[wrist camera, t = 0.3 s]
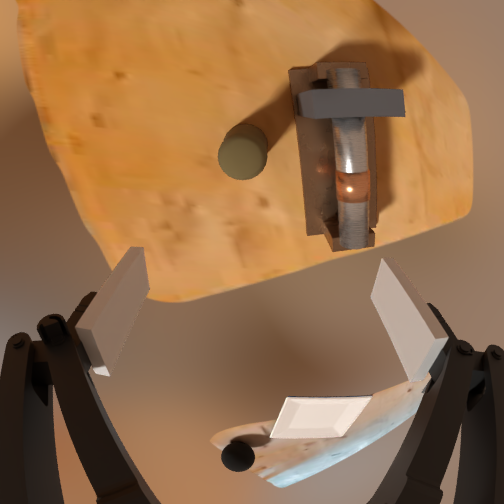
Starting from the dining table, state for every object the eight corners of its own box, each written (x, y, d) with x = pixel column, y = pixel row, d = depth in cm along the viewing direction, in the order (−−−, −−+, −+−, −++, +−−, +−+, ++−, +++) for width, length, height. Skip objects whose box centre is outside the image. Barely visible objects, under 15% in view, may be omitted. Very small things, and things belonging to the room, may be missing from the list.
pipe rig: (288, 70, 33) (297, 61, 26) (365, 68, 33) (391, 61, 25) (306, 233, 44) (317, 262, 37) (374, 225, 44) (396, 251, 36)
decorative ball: (259, 446, 78) (260, 473, 69) (231, 451, 80) (230, 476, 71) (246, 435, 74) (245, 464, 65) (216, 439, 76) (214, 467, 67)
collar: (296, 94, 34) (311, 89, 25) (369, 91, 33) (402, 89, 24) (299, 116, 35) (315, 119, 26) (371, 112, 34) (405, 116, 25)
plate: (341, 431, 74) (342, 437, 73) (269, 432, 73) (269, 438, 71) (371, 390, 64) (373, 396, 62) (286, 390, 63) (286, 397, 61)
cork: (267, 123, 37) (272, 129, 27) (267, 166, 40) (272, 187, 30) (222, 124, 37) (210, 130, 27) (223, 167, 40) (213, 188, 30)
